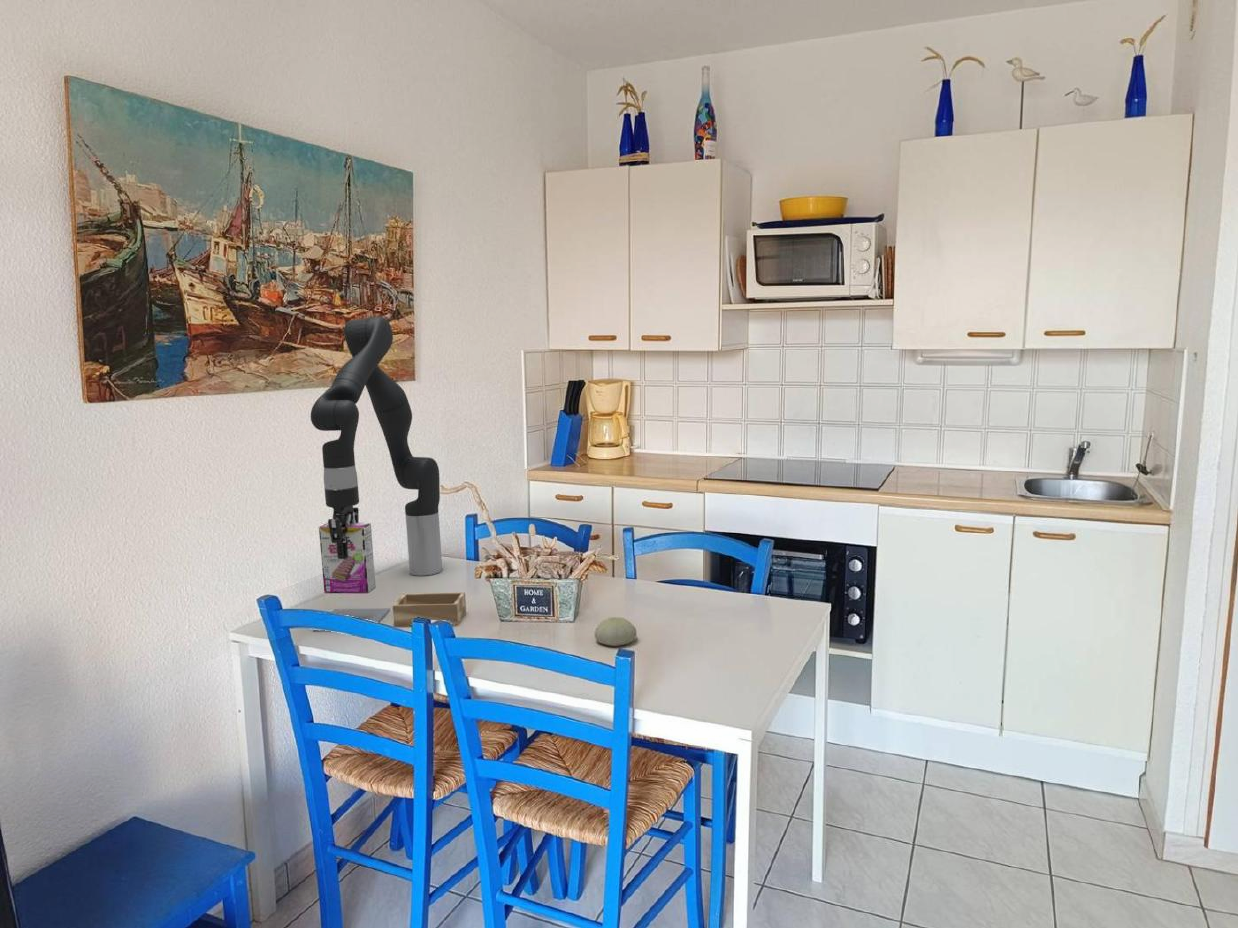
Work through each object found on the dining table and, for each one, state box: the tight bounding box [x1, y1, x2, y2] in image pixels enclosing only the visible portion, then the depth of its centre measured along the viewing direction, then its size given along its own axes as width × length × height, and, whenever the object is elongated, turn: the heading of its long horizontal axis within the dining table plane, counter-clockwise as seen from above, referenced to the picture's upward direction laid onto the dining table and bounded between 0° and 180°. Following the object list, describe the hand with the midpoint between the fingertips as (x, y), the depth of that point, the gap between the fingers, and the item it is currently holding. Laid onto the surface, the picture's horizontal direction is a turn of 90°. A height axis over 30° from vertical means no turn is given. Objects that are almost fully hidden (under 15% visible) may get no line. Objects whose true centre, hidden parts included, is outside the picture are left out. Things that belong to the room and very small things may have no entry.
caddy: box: [392, 592, 467, 627], centre depth 205 cm, size 9×15×5 cm, turn 88°
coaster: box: [312, 607, 391, 632], centre depth 206 cm, size 14×14×1 cm
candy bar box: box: [318, 522, 376, 594], centre depth 204 cm, size 11×5×16 cm, turn 84°
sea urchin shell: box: [594, 616, 637, 647], centre depth 187 cm, size 9×8×8 cm
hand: (347, 555), depth 204 cm, fingers closed on candy bar box, 5 cm apart
